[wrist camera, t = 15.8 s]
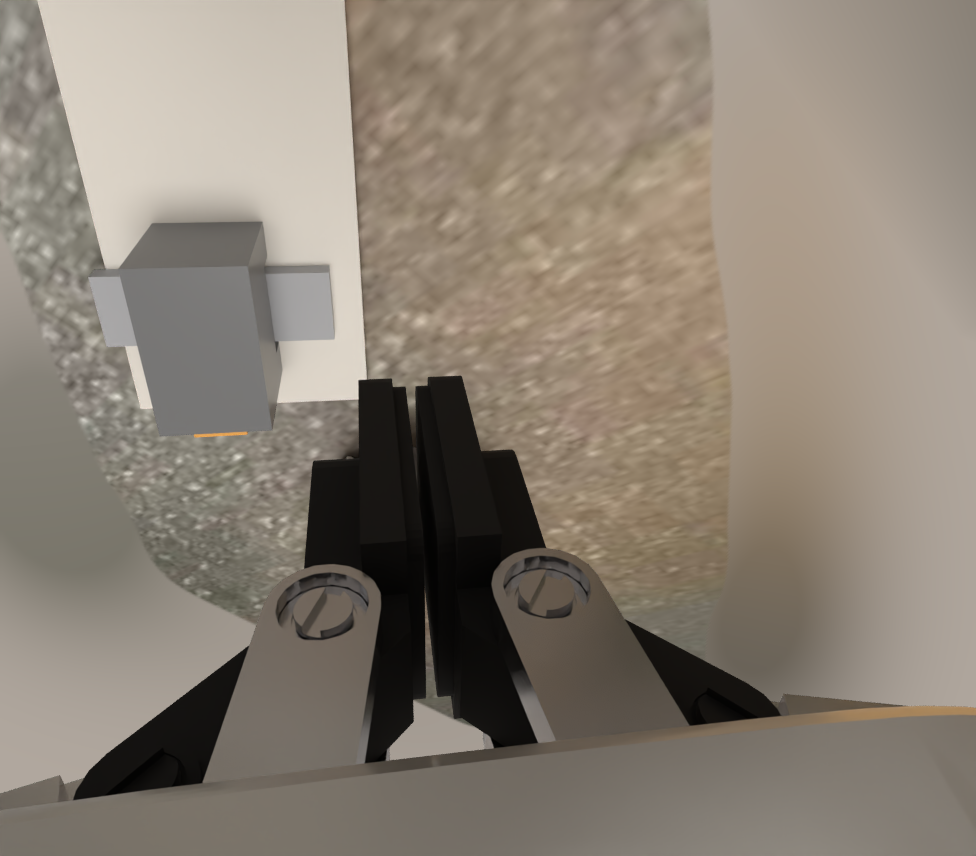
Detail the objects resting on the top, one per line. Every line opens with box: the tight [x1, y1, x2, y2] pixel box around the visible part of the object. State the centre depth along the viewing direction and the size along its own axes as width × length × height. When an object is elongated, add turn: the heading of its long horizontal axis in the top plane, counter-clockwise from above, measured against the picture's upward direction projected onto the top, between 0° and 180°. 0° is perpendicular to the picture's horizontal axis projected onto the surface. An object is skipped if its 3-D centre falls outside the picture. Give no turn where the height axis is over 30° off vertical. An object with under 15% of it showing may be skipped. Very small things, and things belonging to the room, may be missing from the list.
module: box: [118, 222, 282, 437], centre depth 35 cm, size 5×9×6 cm, turn 178°
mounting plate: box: [37, 0, 367, 409], centre depth 34 cm, size 12×22×2 cm, turn 178°
